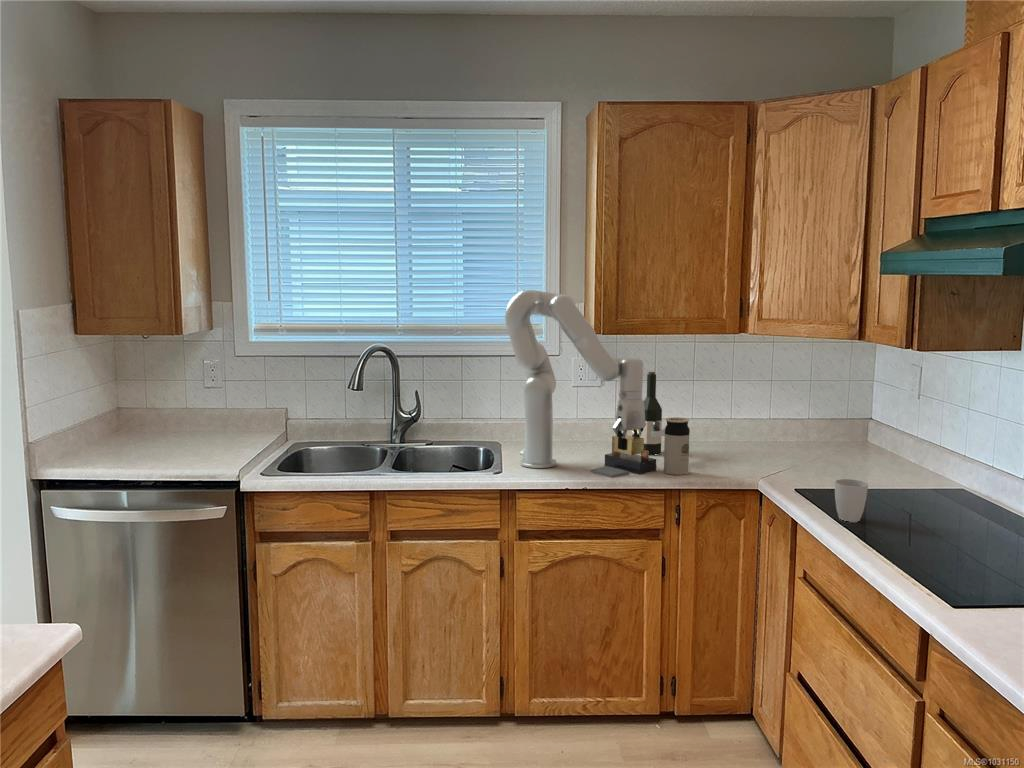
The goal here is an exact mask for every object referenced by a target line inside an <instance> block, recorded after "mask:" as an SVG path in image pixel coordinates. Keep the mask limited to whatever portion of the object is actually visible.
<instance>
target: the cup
mask: <svg viewBox="0 0 1024 768" xmlns="http://www.w3.org/2000/svg"><path fill="white" fill-rule="evenodd" d="M868 489H869V483H867V482H865V481H863V480H857V479H852V478H841V479H836V480H835V481H834V500H835V508H836V513H837V516H838V519H839V520H840V519H841V520H840V521H842V520H844V521H843V522H845V521H849V522H848V523H858V521H859V522H860V520H861V518H862V517H863V513H864V510H865V506H866V502H867V497H868V496H867V495H868Z"/></svg>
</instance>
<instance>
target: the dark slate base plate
mask: <svg viewBox="0 0 1024 768" xmlns="http://www.w3.org/2000/svg"><path fill="white" fill-rule="evenodd" d="M614 436H615V435H613V436H612V437H611V439H612V440H611V452H609V453H605V454H604V467H605V466H609V467H613V468H617V469H621V470H625V471H629V473H633V474H636V475H643V474H649V473H652V472H656V471H657V458H652V457H650V455H649V451H646V450H643V451H641V454H635V455H629V454H625V453H620V452H616V451H614Z"/></svg>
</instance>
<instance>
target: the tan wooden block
mask: <svg viewBox="0 0 1024 768" xmlns="http://www.w3.org/2000/svg"><path fill="white" fill-rule="evenodd" d="M613 436H614V451H616V452H620V453H625V454H629V455H641V454H640V453H641V451H643V450H644V438H640V437H635V436H632V435H631V434H627V433H626V436H625V438H626V450H621V449H618V437H617V435H613Z"/></svg>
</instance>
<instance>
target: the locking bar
mask: <svg viewBox="0 0 1024 768" xmlns="http://www.w3.org/2000/svg"><path fill="white" fill-rule="evenodd" d="M660 436H661V437H665V427H664V428H662V429H660V422H653V431H651V437H660Z"/></svg>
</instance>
